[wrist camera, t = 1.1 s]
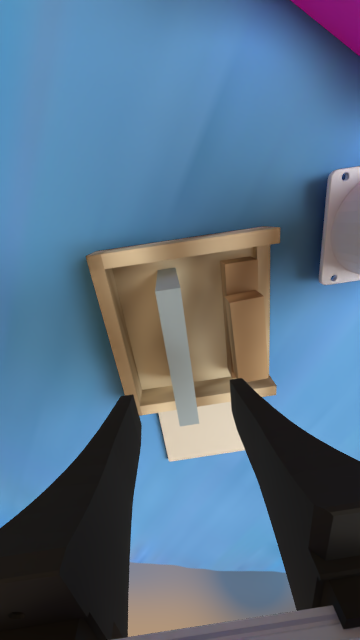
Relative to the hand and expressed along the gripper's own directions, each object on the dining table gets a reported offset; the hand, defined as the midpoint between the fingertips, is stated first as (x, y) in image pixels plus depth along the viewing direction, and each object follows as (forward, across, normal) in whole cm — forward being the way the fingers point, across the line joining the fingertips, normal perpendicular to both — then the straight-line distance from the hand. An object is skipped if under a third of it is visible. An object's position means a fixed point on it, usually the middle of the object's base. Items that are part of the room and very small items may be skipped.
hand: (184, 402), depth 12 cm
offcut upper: (+8, -5, +1) cm, 9 cm away
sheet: (+9, 0, 0) cm, 9 cm away
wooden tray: (+10, -1, 0) cm, 10 cm away
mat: (+10, -1, +12) cm, 16 cm away
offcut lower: (+9, -5, 0) cm, 11 cm away
